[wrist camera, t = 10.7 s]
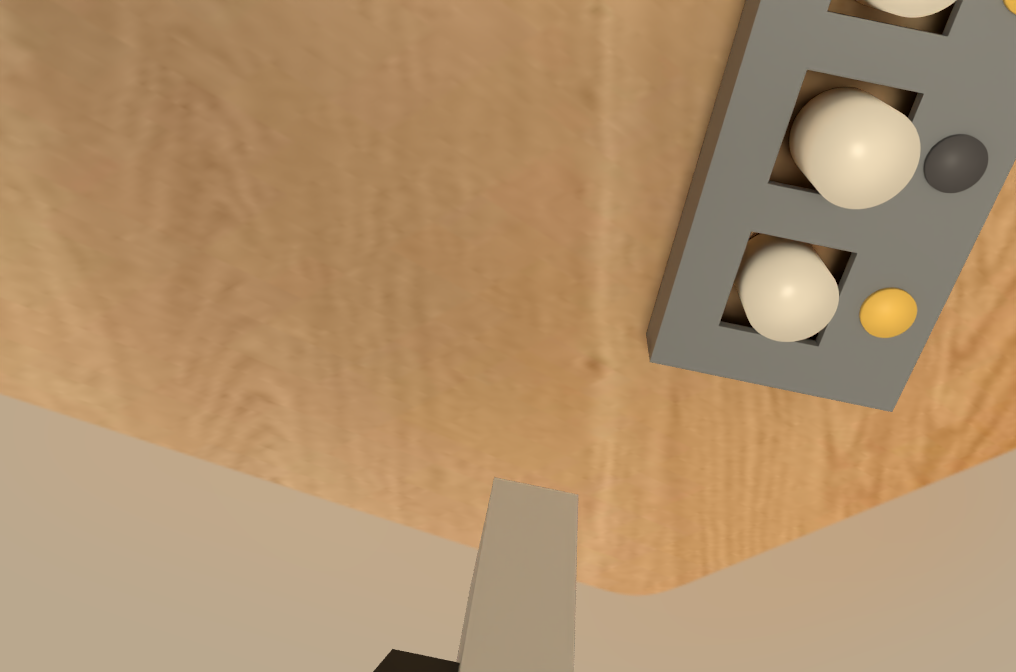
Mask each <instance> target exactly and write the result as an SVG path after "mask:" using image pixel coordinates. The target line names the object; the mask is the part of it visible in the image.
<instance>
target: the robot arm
mask: <svg viewBox="0 0 1016 672" xmlns="http://www.w3.org/2000/svg"><path fill="white" fill-rule="evenodd" d="M577 528H578V494H573V493H568V492H563V491H558V490H553V489H549V488H544V487H539V486H534V485H529V484H524V483H520V482H515V481H510V480H505V479H500V478H495V477H494V481H493V486H492V490H491V495H490V499H489V504H488V509H487V513H486V518H485V522H484V527H483V532H482V536H481V541H480V545H479V550H478V554H477V559H476V564H475V569H474V573H473V577H472V582H471V587H470V591H469V597H468V602H467V608H466V613H465V618H464V624H463V630H462V635H461V640H460V646H459V651H458V656H457V662H453V661H448V660H443V659H438V658H433V657H429V656H424V655H419V654H414V653H409V652H404V651H400V650H395V649H392V650H391V652H390V653H389V654H388V655H387V656H386V657H385V659H384V660H383V661H382V662H381V663H380V664H379V666H378V667H377V668H376V669H375V670H374V671H373V672H574V646H575V645H574V644H575V605H576V567H577Z"/></svg>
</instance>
